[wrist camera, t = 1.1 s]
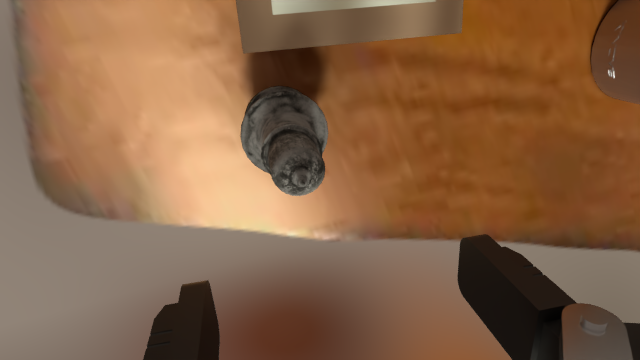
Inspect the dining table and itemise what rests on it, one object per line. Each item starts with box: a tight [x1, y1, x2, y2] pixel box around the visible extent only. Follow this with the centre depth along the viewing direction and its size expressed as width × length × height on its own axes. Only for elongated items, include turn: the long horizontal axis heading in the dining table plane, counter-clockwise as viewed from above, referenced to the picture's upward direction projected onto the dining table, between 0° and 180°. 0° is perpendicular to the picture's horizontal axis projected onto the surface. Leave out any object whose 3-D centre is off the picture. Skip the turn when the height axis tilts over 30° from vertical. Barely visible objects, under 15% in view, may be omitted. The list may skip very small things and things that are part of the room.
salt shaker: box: [241, 86, 328, 196], centre depth 25 cm, size 6×6×12 cm
